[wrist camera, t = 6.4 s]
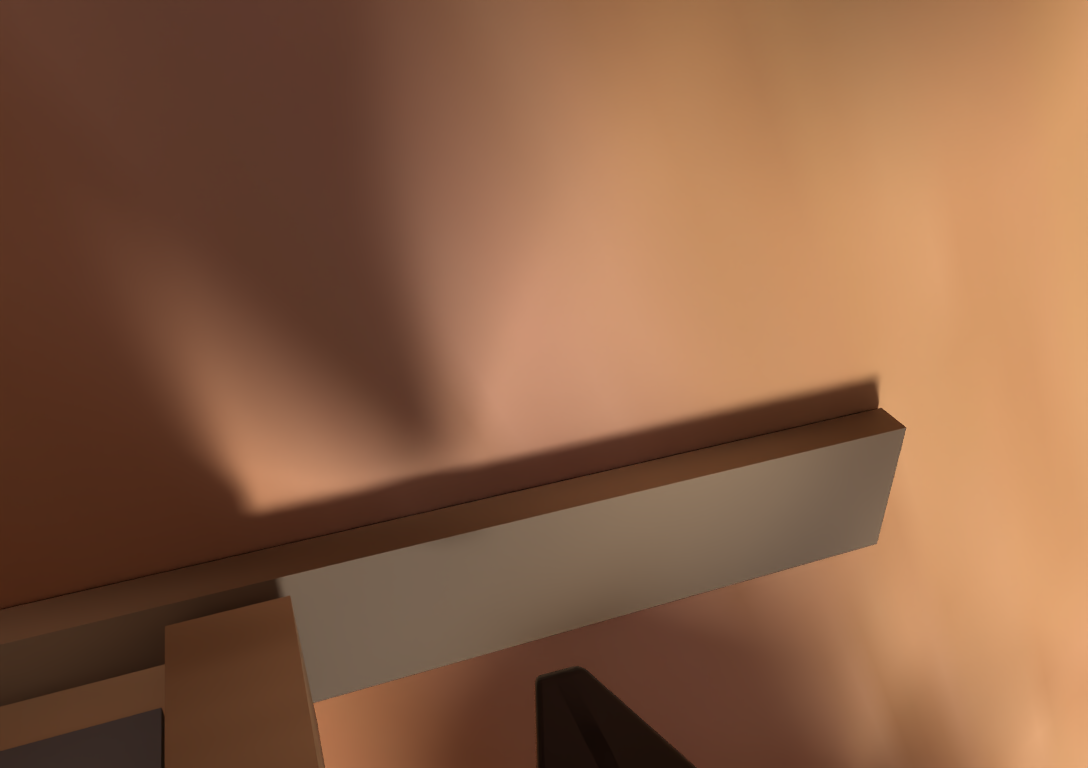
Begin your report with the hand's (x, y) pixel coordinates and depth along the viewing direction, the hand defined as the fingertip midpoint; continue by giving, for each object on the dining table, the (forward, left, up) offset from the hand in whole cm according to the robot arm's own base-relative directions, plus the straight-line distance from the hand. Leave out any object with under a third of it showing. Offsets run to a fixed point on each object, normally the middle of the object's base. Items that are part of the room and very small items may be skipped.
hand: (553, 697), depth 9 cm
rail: (-3, 0, -2) cm, 4 cm away
